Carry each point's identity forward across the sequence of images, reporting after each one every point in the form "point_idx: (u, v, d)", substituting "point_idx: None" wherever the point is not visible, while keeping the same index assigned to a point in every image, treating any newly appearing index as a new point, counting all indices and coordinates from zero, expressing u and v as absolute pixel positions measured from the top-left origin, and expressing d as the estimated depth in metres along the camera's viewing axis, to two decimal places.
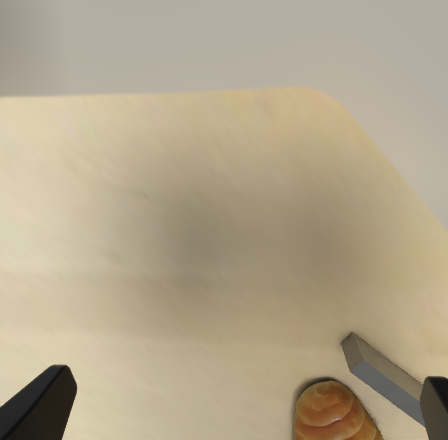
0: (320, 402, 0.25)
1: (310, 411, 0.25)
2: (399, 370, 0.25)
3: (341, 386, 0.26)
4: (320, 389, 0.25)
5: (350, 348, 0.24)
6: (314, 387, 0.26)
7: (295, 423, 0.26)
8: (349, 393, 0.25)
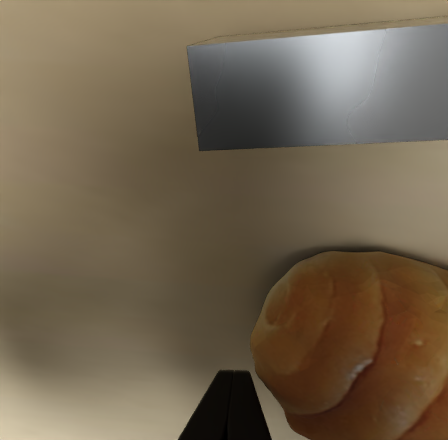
0: (285, 345, 0.08)
1: (278, 383, 0.08)
2: None
3: (333, 258, 0.08)
4: (272, 309, 0.08)
5: None
6: (262, 309, 0.08)
7: None
8: (364, 265, 0.07)
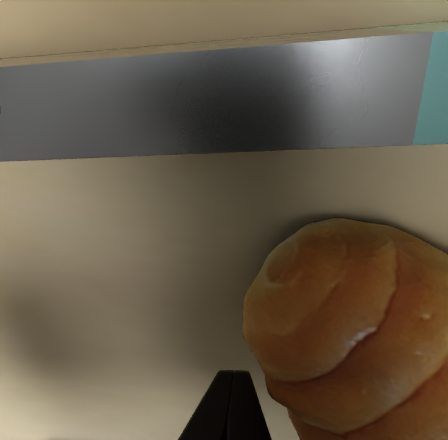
0: (285, 304, 0.07)
1: (270, 344, 0.07)
2: None
3: (345, 224, 0.08)
4: (275, 267, 0.07)
5: None
6: (262, 267, 0.08)
7: None
8: (378, 234, 0.07)
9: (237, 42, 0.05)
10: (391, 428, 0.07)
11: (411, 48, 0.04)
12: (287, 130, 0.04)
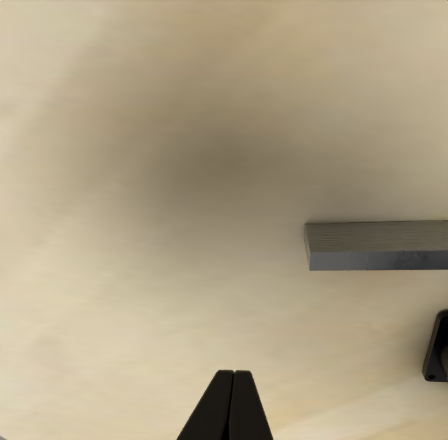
0: None
1: None
2: None
3: None
4: None
5: None
6: None
7: None
8: None
9: None
10: None
11: None
12: None
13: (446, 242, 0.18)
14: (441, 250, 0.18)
